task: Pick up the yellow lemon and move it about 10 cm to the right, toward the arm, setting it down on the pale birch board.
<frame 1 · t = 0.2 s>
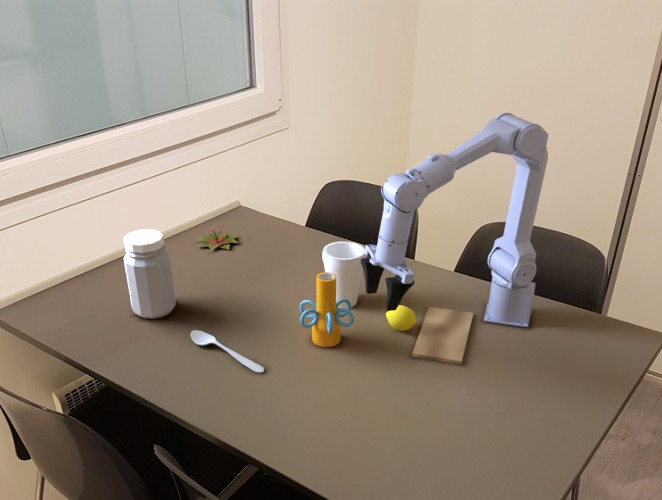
hand: (380, 301, 140), 10 cm above the table, tool pointing down, fingers open, 7 cm apart
jar: (154, 310, 158), on the table
cylinder: (326, 340, 147), on the table
lily flower: (217, 244, 188), on the table
spoon: (226, 354, 143), on the table
foam cup: (343, 302, 161), on the table
lemon: (400, 329, 151), on the table
birch board: (444, 335, 149), on the table
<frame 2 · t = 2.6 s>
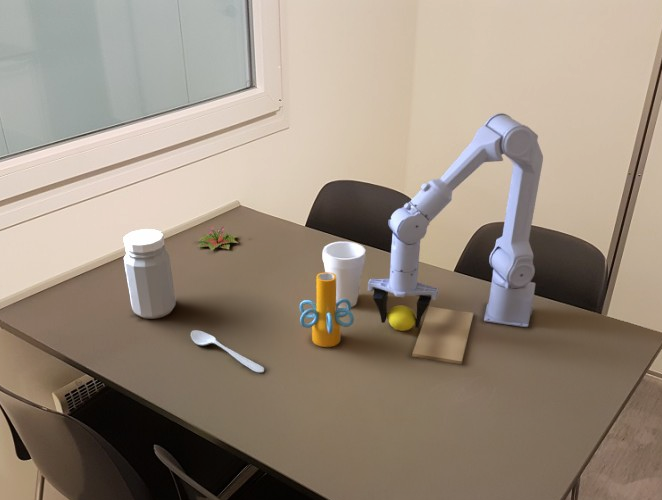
hand: (400, 323, 150), 1 cm above the table, tool pointing down, fingers closed on lemon, 7 cm apart
lemon: (400, 329, 151), on the table, touching gripper
everything else where it was.
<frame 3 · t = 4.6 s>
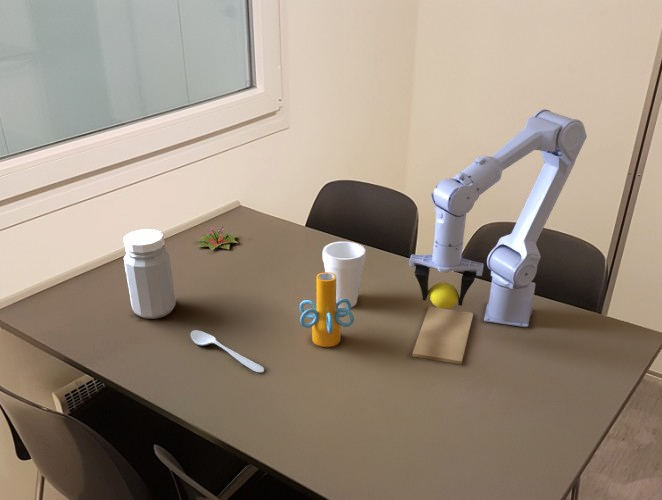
hand: (442, 300, 145), 8 cm above the table, tool pointing down, fingers closed on lemon, 7 cm apart
lemon: (442, 307, 145), point 7 cm above the table, touching gripper
everything else where it was.
when the fingers open (2 cm above the table, at t = 6.8 s): lemon stays where it is, resting on birch board.
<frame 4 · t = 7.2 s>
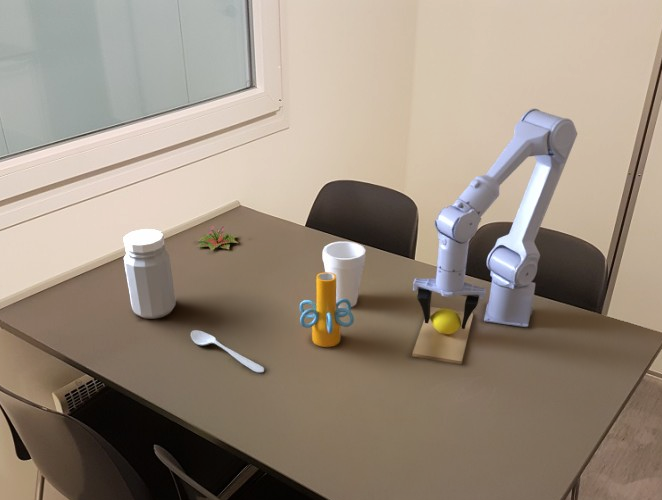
hand: (445, 323, 147), 3 cm above the table, tool pointing down, fingers open, 7 cm apart
lemon: (444, 332, 148), point 1 cm above the table, touching birch board
everything else where it was.
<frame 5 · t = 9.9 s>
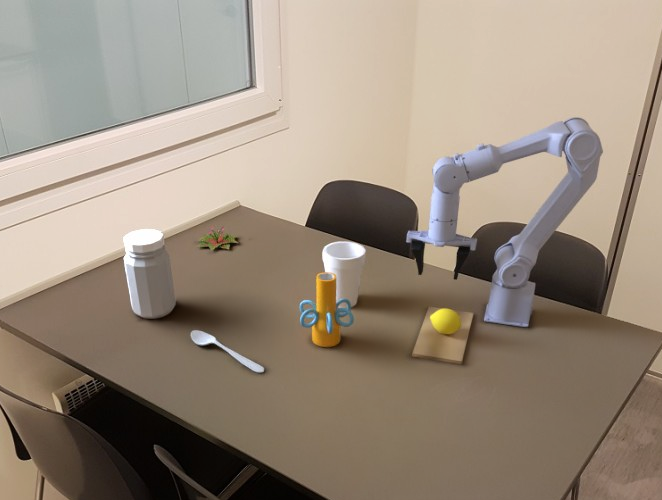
hand: (438, 275, 152), 9 cm above the table, tool pointing down, fingers open, 7 cm apart
nothing on the table moved.
at the end: lemon inside the target area on the birch board (0.0 cm from its centre), point 0.6 cm above the birch board's base; lemon moved 9.6 cm from its start; the gripper is holding nothing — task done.
